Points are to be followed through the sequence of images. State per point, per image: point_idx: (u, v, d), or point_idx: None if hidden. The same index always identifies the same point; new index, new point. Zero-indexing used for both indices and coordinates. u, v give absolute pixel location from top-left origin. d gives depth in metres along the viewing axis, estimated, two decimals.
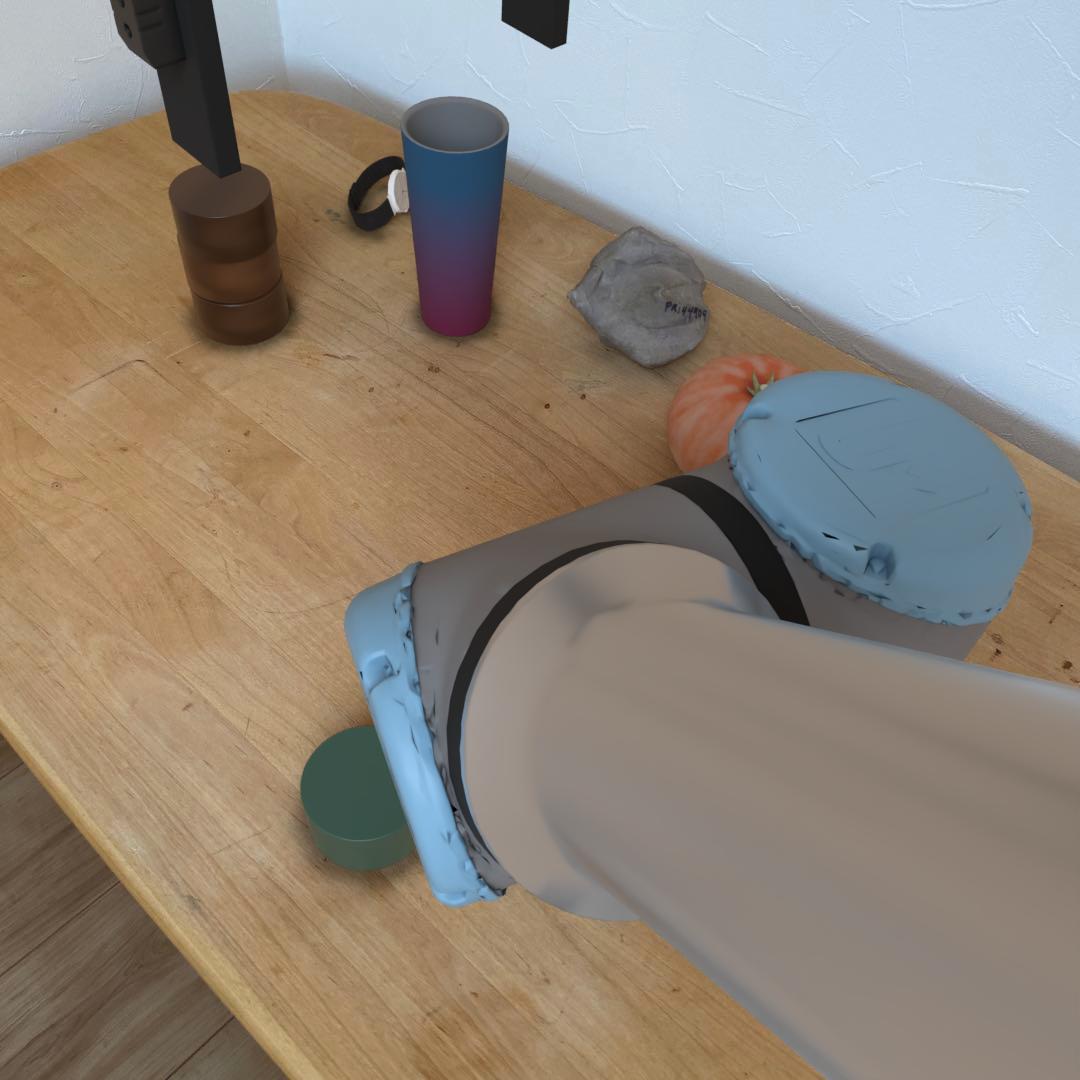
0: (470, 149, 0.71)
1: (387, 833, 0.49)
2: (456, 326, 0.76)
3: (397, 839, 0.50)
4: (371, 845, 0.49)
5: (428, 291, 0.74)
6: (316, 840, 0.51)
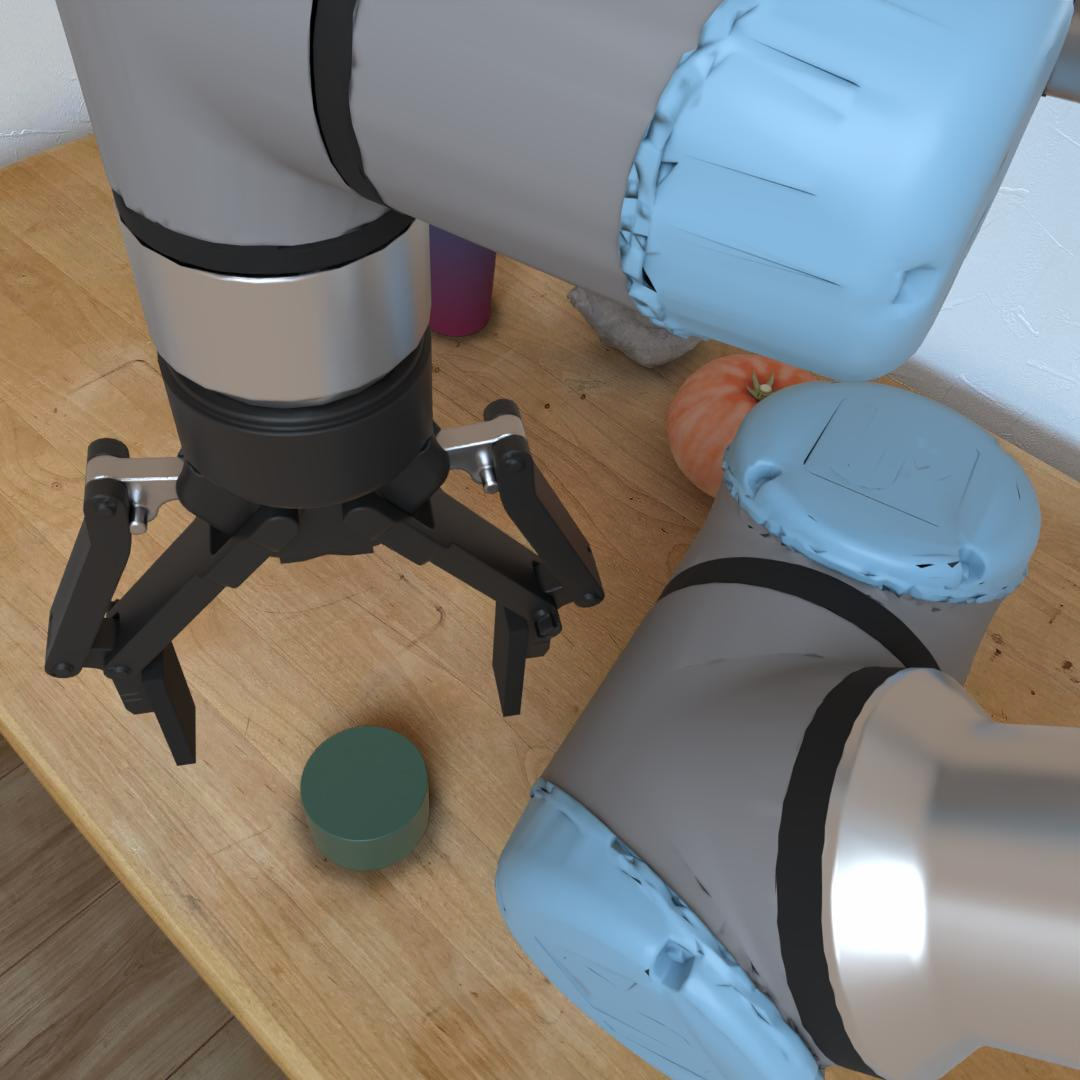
0: None
1: (387, 833, 0.49)
2: (456, 326, 0.76)
3: (397, 839, 0.50)
4: (371, 845, 0.49)
5: None
6: (316, 840, 0.51)
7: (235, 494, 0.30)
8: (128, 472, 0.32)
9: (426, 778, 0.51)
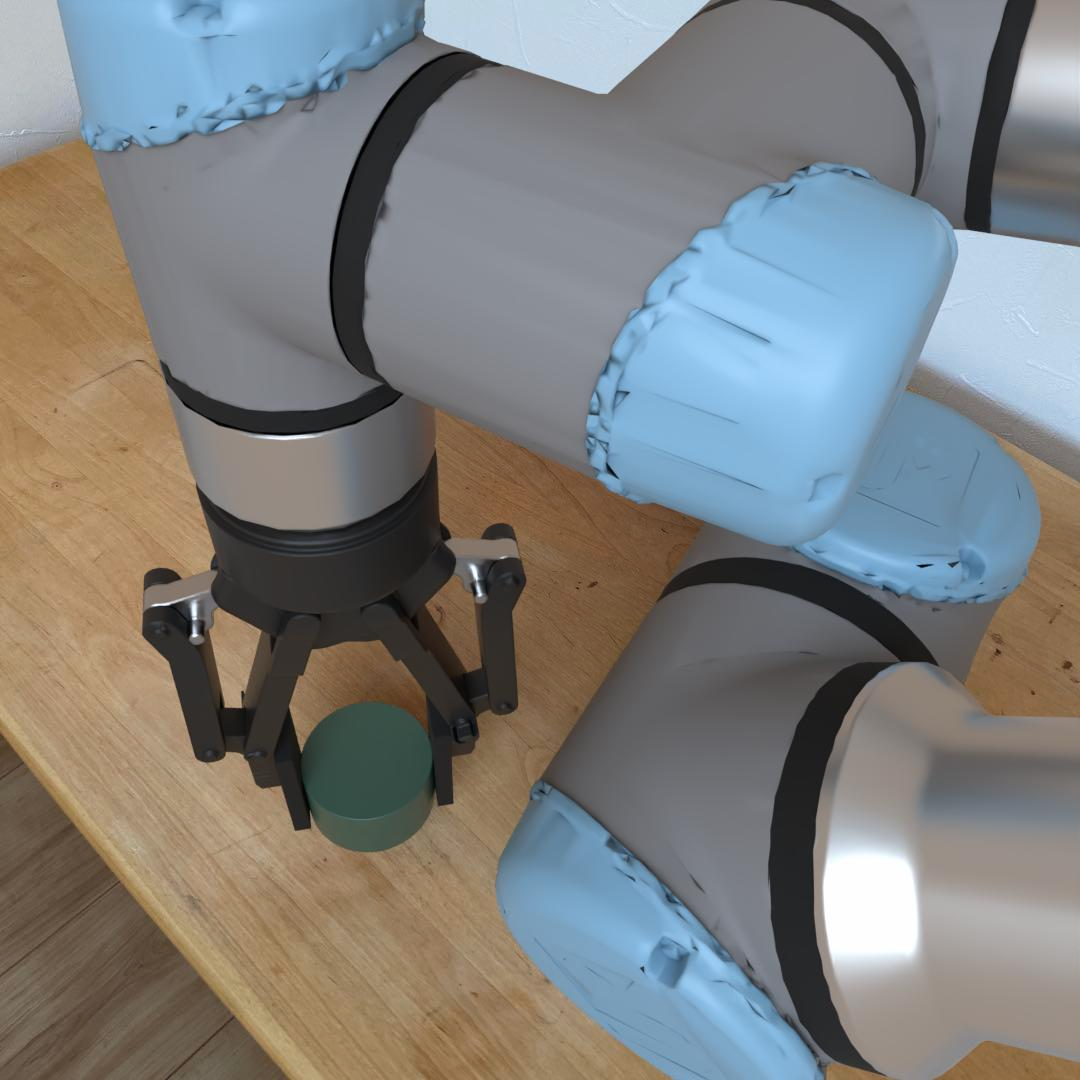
0: None
1: (390, 812, 0.47)
2: None
3: (402, 818, 0.48)
4: (373, 825, 0.47)
5: None
6: (317, 820, 0.49)
7: (265, 602, 0.33)
8: (172, 595, 0.37)
9: (431, 755, 0.49)
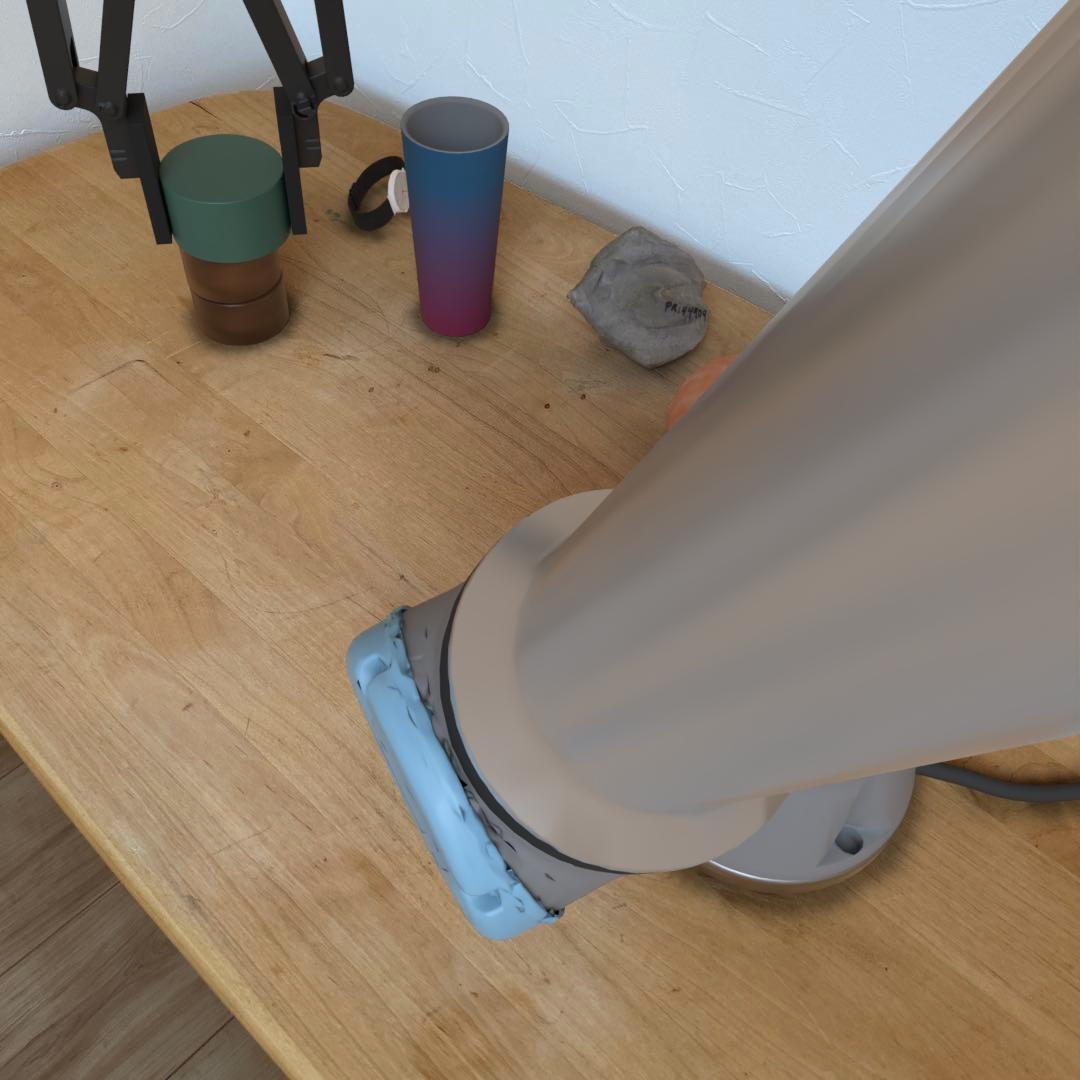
0: (470, 149, 0.71)
1: (240, 199, 0.51)
2: (456, 326, 0.76)
3: (252, 215, 0.52)
4: (224, 213, 0.51)
5: (428, 291, 0.74)
6: (176, 228, 0.53)
7: None
8: None
9: (282, 168, 0.52)
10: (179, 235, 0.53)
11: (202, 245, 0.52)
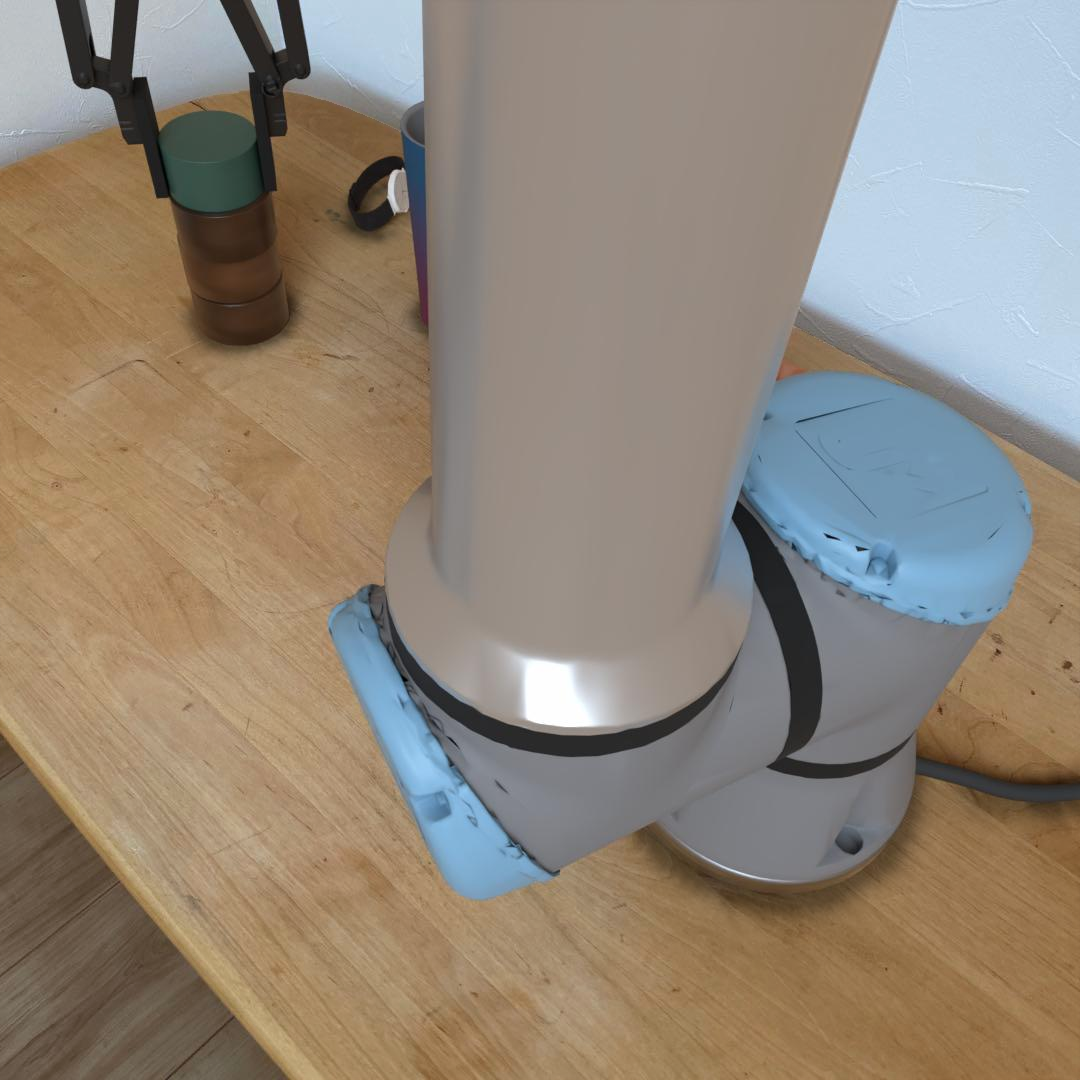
0: None
1: (221, 159, 0.64)
2: None
3: (231, 173, 0.65)
4: (209, 171, 0.64)
5: None
6: (171, 184, 0.66)
7: None
8: None
9: (256, 136, 0.66)
10: (174, 190, 0.66)
11: (192, 197, 0.66)
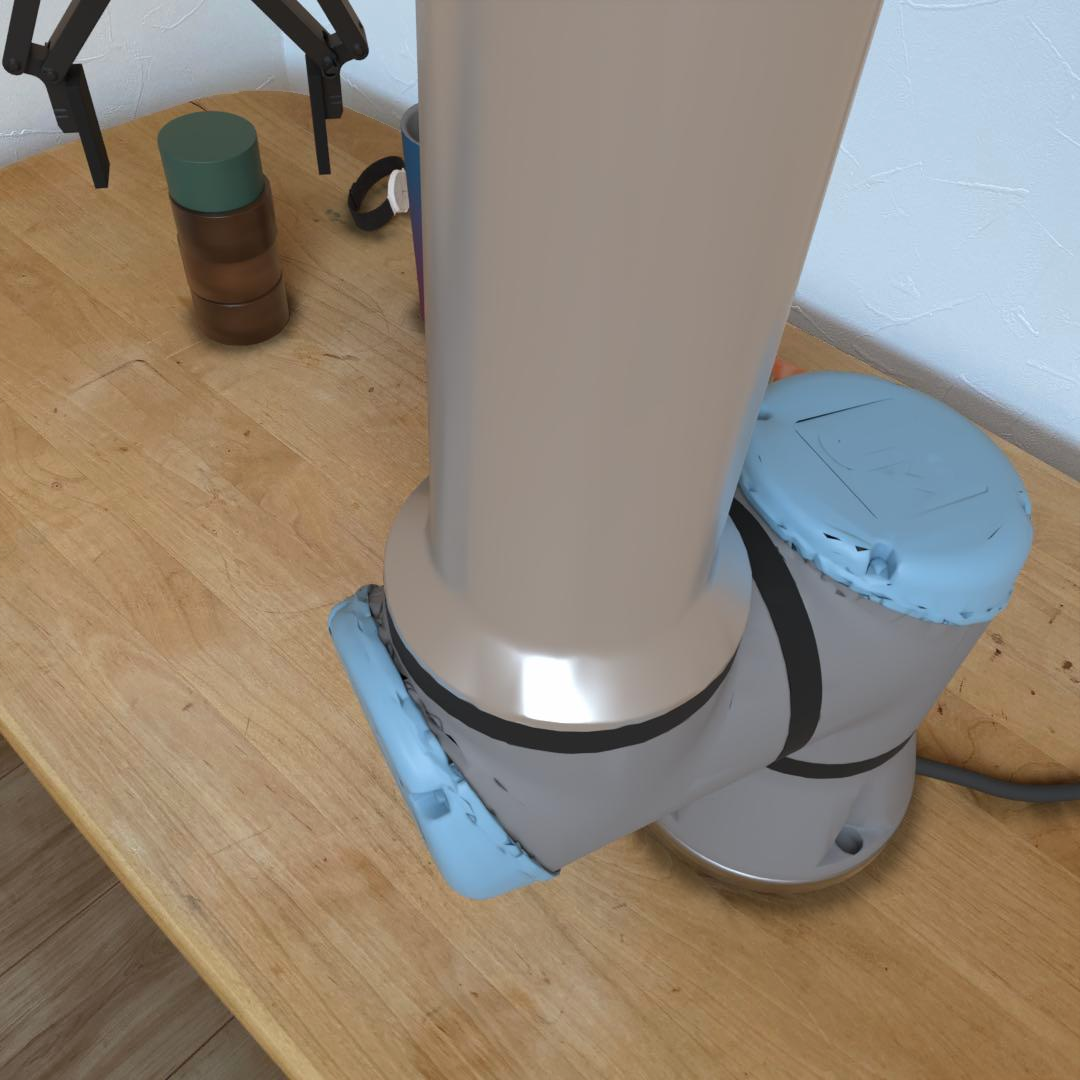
0: None
1: (220, 159, 0.64)
2: None
3: (231, 173, 0.65)
4: (208, 170, 0.64)
5: None
6: (171, 184, 0.66)
7: None
8: None
9: (255, 136, 0.66)
10: (173, 190, 0.66)
11: (191, 197, 0.66)
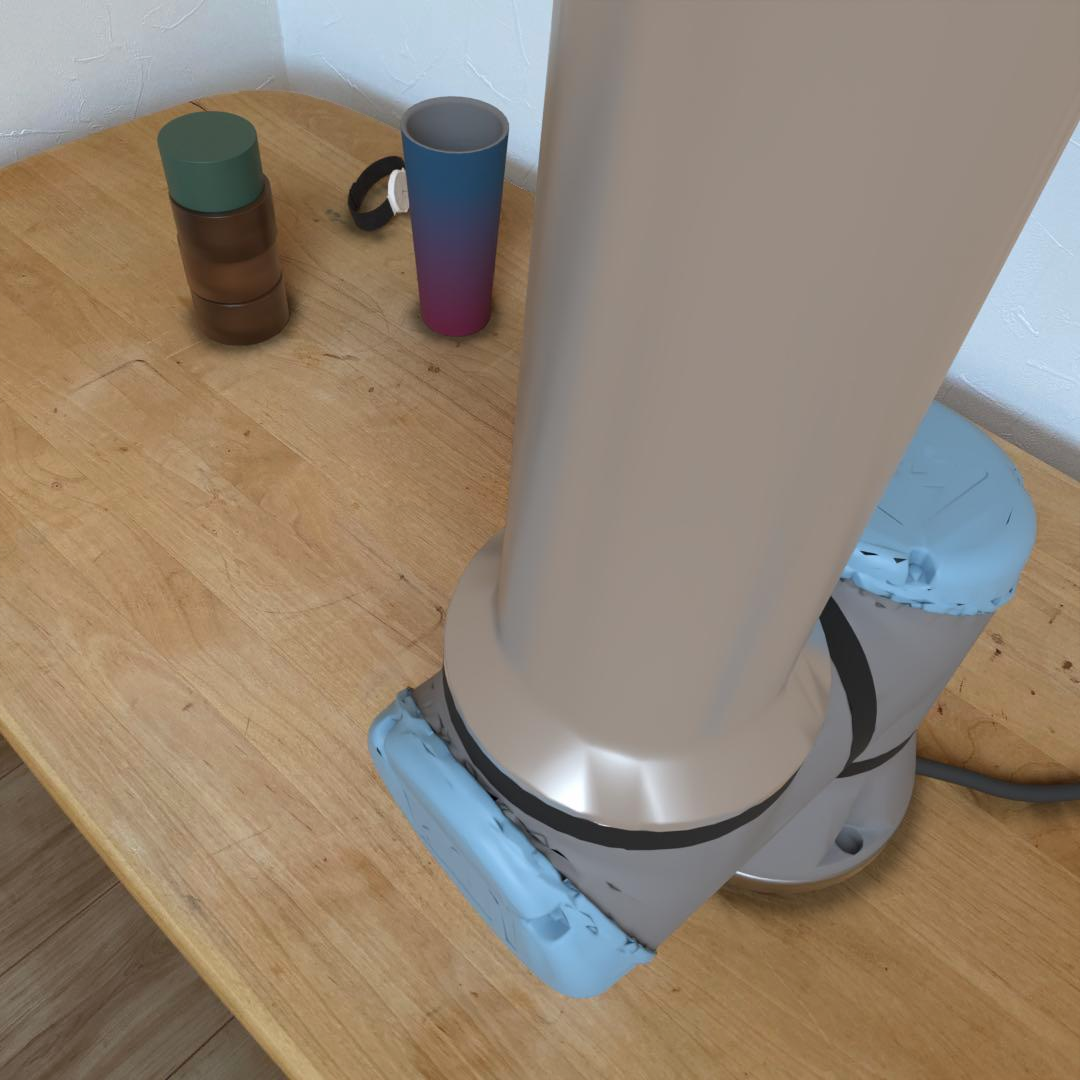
0: (470, 149, 0.71)
1: (220, 159, 0.64)
2: (456, 326, 0.76)
3: (231, 173, 0.65)
4: (208, 170, 0.64)
5: (428, 291, 0.74)
6: (171, 184, 0.66)
7: None
8: None
9: (255, 136, 0.66)
10: (173, 190, 0.66)
11: (191, 197, 0.66)
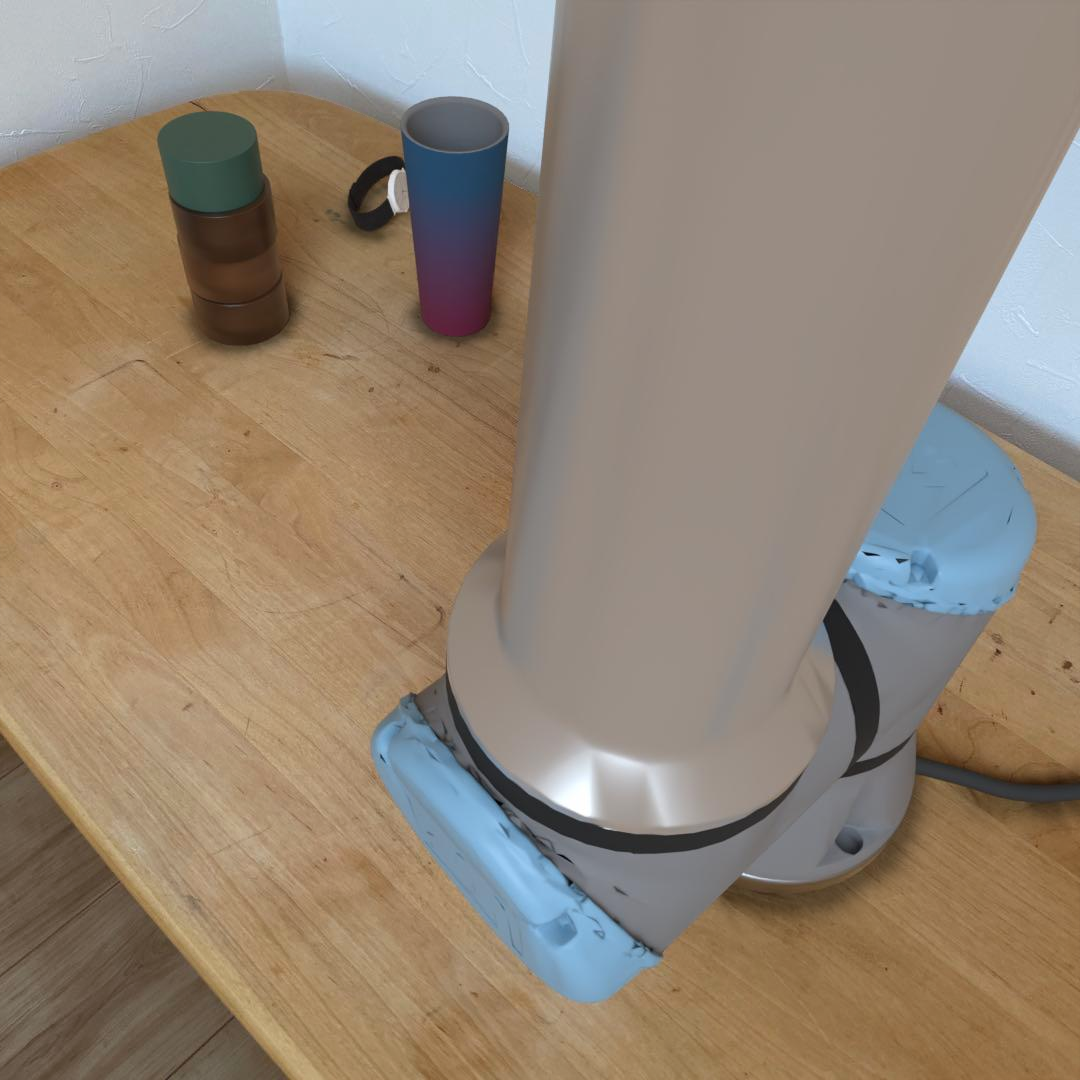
0: (470, 149, 0.71)
1: (220, 159, 0.64)
2: (456, 326, 0.76)
3: (231, 173, 0.65)
4: (208, 170, 0.64)
5: (428, 291, 0.74)
6: (171, 184, 0.66)
7: None
8: None
9: (255, 136, 0.66)
10: (173, 190, 0.66)
11: (191, 197, 0.66)
